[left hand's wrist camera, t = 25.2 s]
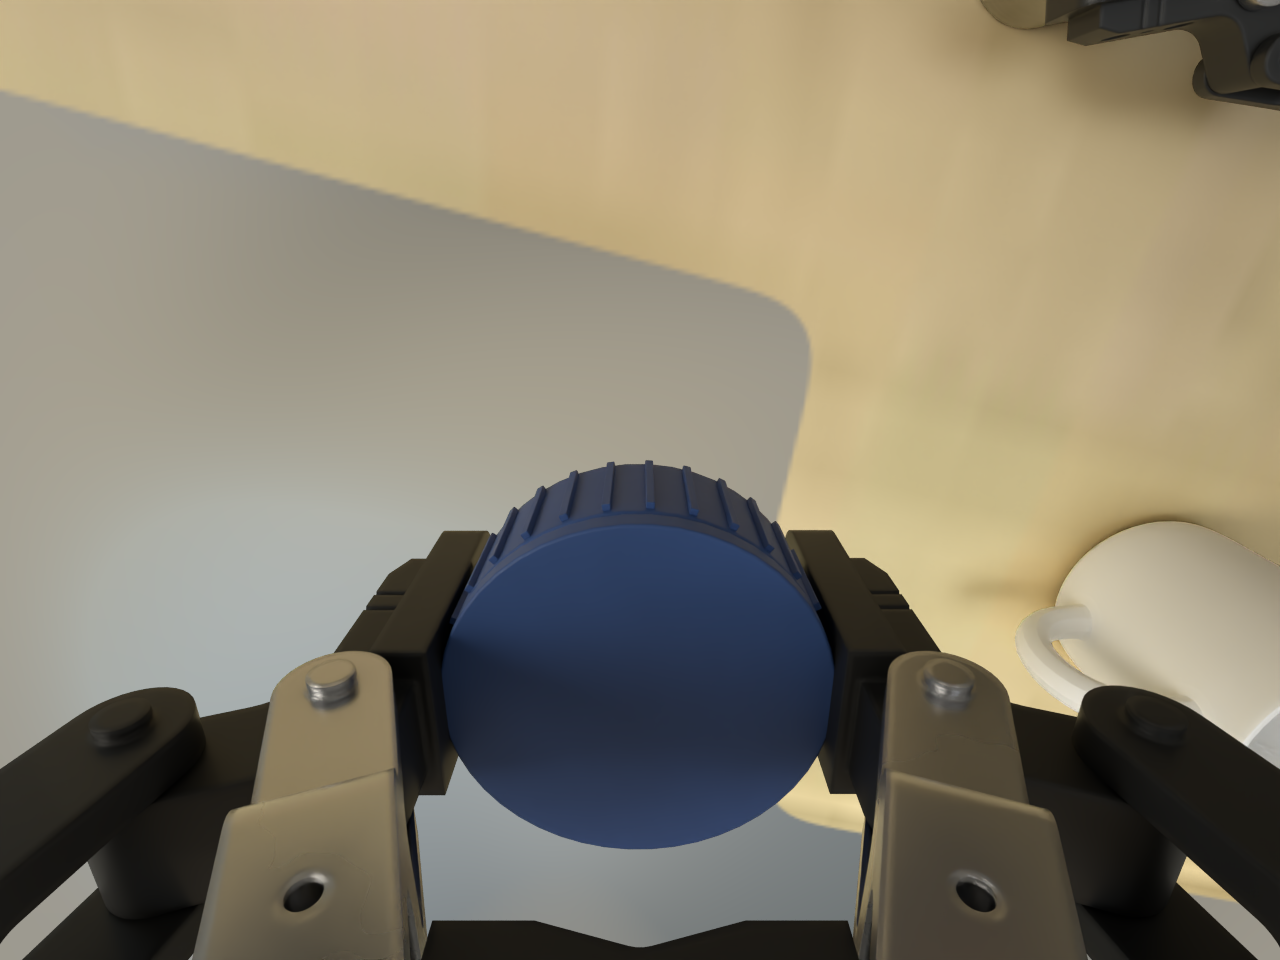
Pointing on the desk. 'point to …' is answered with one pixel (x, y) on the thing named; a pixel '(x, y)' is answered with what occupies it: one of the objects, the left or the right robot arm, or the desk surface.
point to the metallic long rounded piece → (1018, 12)
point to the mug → (1168, 628)
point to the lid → (637, 660)
